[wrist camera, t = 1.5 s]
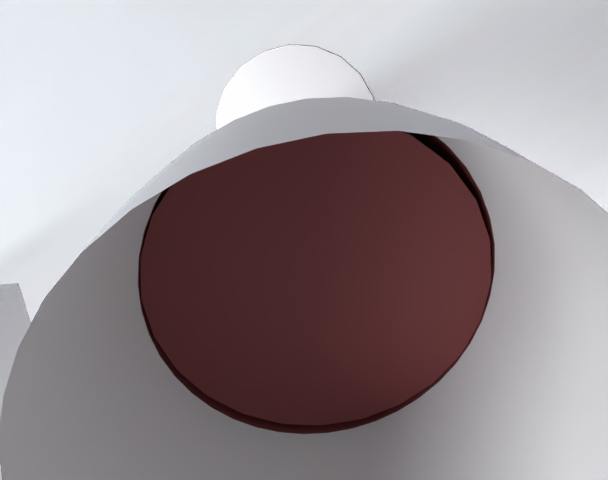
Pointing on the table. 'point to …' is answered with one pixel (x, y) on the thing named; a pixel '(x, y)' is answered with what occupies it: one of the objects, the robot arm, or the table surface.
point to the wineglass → (324, 306)
